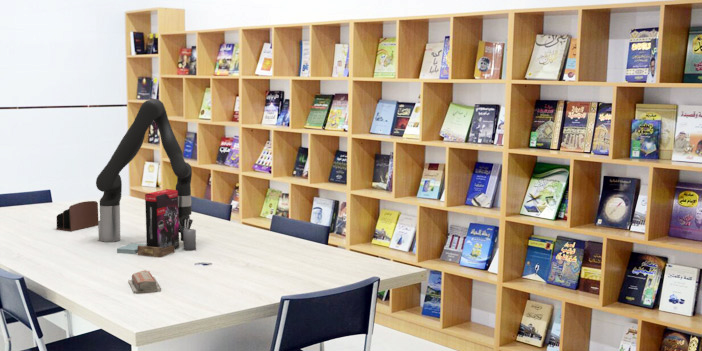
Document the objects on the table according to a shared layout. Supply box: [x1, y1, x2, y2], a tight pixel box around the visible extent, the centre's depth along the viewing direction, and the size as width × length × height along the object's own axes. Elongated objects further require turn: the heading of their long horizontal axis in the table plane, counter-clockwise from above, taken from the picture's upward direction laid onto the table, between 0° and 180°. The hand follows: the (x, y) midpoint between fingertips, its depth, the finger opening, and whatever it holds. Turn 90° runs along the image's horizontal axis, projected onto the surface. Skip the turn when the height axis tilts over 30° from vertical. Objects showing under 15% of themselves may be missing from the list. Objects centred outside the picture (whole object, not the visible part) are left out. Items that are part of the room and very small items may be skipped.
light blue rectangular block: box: [116, 242, 147, 255], centre depth 347 cm, size 9×13×2 cm
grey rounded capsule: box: [182, 228, 197, 252], centre depth 351 cm, size 6×6×9 cm
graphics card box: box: [144, 188, 180, 249], centre depth 346 cm, size 17×7×27 cm, turn 159°
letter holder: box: [56, 200, 99, 233], centre depth 397 cm, size 10×20×14 cm, turn 155°
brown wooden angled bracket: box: [137, 245, 175, 258], centre depth 341 cm, size 12×11×4 cm
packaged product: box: [128, 269, 162, 294], centre depth 287 cm, size 18×5×10 cm
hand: (183, 240), depth 362 cm, fingers closed
